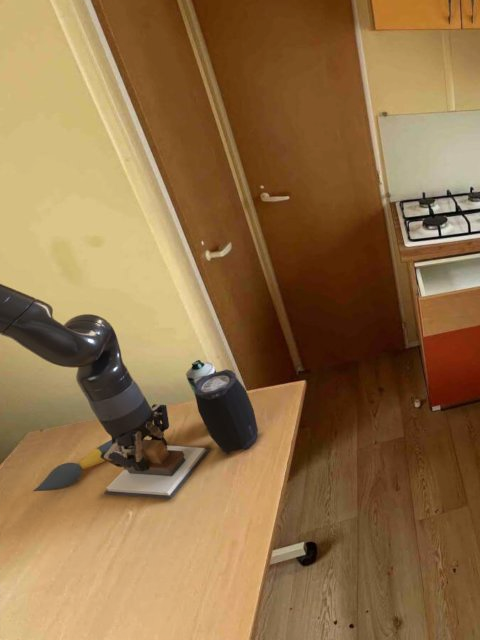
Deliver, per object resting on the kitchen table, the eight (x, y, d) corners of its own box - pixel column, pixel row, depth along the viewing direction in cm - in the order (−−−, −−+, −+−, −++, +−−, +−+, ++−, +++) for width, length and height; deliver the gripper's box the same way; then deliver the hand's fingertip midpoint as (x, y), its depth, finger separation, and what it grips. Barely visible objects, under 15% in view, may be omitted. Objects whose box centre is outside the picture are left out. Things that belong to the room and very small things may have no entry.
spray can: (230, 429, 105) (203, 369, 96) (206, 432, 104) (176, 371, 95) (239, 412, 110) (214, 353, 101) (216, 415, 109) (189, 355, 100)
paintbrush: (139, 426, 106) (130, 412, 103) (151, 433, 104) (143, 419, 102) (36, 497, 90) (24, 482, 87) (49, 506, 88) (37, 491, 86)
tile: (104, 494, 90) (101, 490, 90) (150, 446, 101) (148, 442, 100) (170, 499, 89) (167, 495, 89) (210, 450, 100) (208, 446, 99)
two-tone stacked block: (172, 477, 92) (159, 454, 89) (127, 474, 93) (112, 451, 89) (187, 459, 96) (175, 437, 93) (144, 456, 97) (130, 434, 93)
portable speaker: (211, 447, 101) (181, 386, 92) (250, 420, 108) (226, 361, 99) (230, 464, 97) (201, 402, 88) (269, 435, 104) (246, 375, 95)
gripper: (133, 378, 92) (163, 432, 100) (67, 432, 79) (108, 489, 87) (165, 379, 91) (193, 433, 99) (105, 434, 79) (142, 491, 87)
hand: (153, 459), depth 93 cm, fingers closed on two-tone stacked block, 4 cm apart
